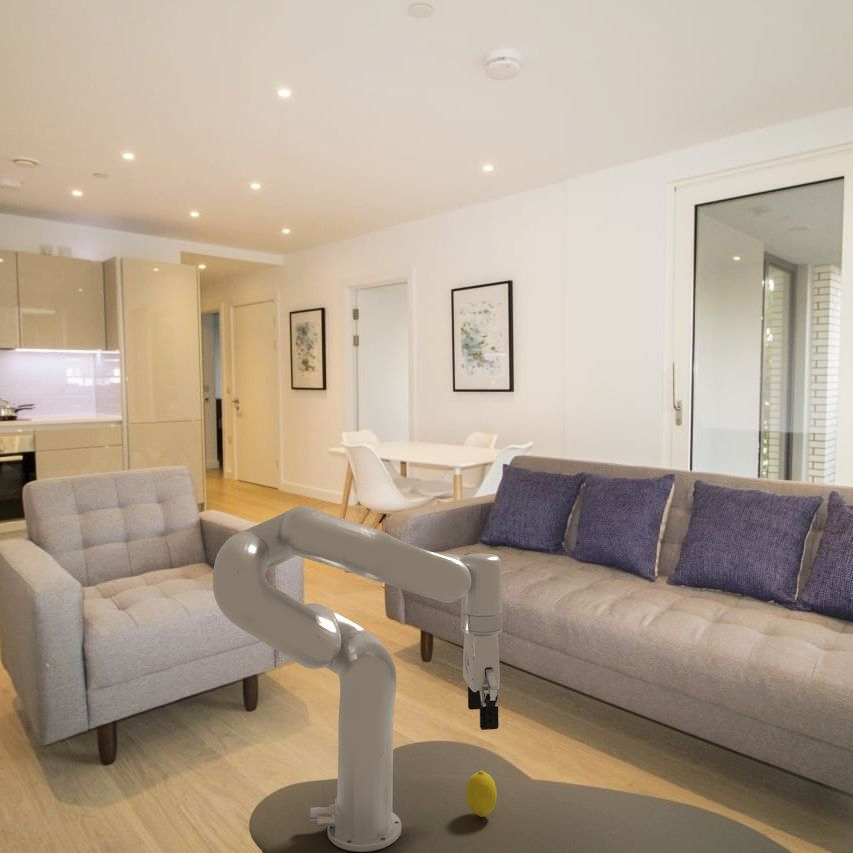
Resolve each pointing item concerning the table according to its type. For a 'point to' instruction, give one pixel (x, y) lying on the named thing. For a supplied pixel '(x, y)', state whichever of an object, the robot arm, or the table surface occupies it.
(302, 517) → the robot arm
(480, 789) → the lemon
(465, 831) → the table surface
